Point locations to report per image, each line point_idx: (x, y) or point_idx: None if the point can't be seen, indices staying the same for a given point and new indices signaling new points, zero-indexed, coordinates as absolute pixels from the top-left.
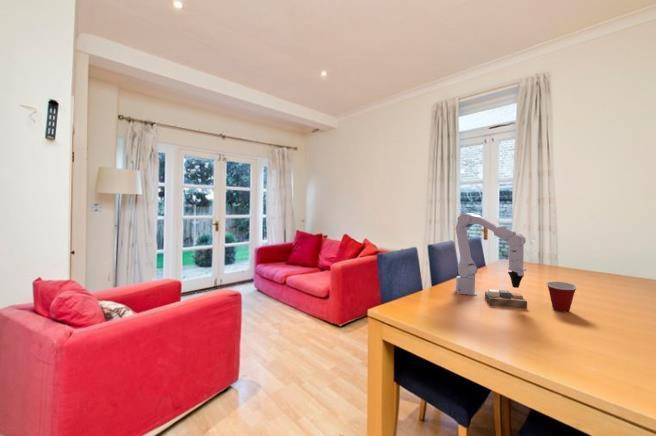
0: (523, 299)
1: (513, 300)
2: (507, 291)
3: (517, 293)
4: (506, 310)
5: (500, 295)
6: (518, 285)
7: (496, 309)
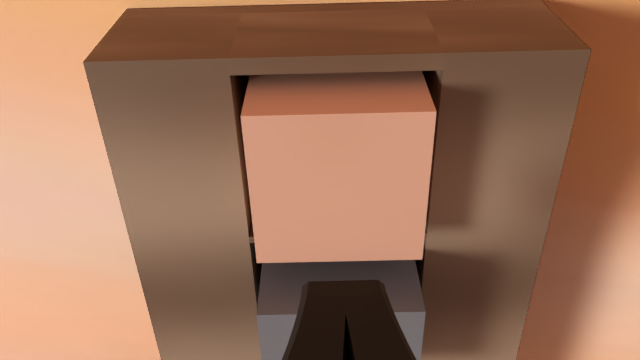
0: (468, 80)
1: (542, 238)
2: None
3: (253, 158)
4: (626, 260)
5: None
6: (401, 336)
7: (599, 337)
